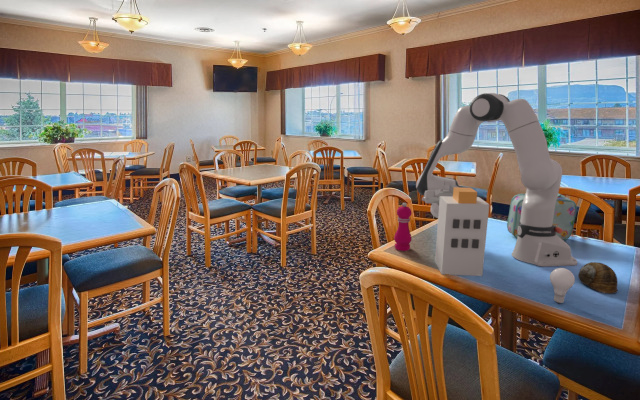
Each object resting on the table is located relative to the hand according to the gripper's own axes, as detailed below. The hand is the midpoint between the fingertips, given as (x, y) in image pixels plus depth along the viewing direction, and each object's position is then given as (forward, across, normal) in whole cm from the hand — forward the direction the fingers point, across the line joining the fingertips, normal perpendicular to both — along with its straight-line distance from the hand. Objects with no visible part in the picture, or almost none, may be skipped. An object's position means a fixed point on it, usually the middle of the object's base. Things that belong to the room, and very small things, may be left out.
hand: (453, 190), depth 151 cm
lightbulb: (+20, +24, +43) cm, 53 cm away
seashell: (+8, +42, +36) cm, 56 cm away
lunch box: (-36, +46, +10) cm, 59 cm away
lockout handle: (+7, 0, +5) cm, 9 cm away
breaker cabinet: (-1, 0, +30) cm, 30 cm away
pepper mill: (-18, -18, +20) cm, 33 cm away
